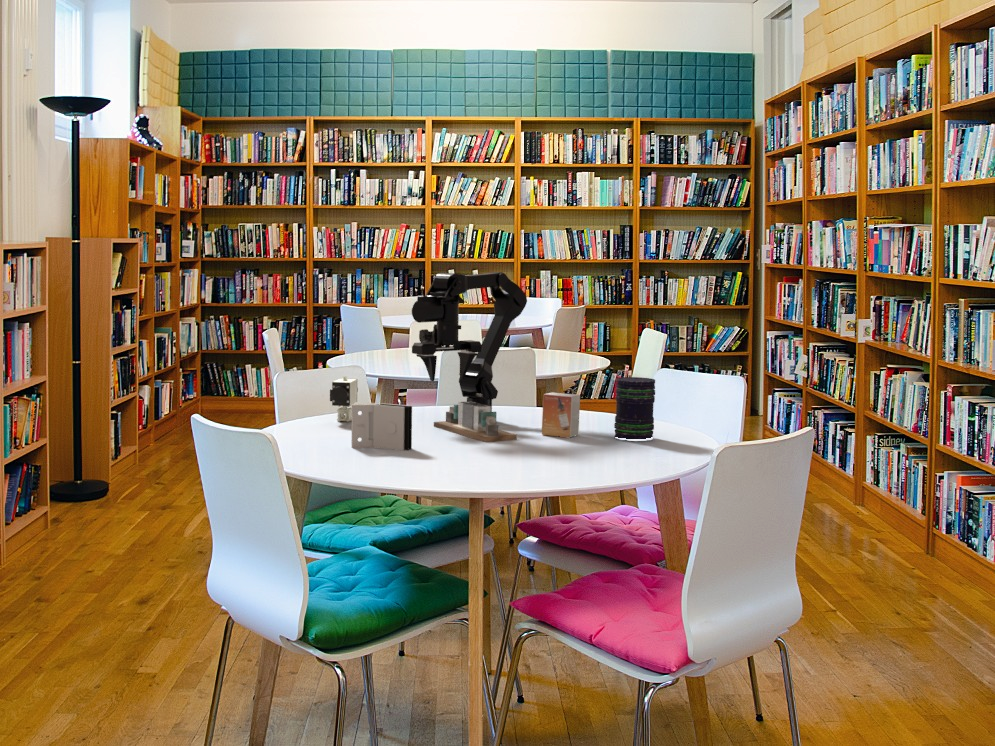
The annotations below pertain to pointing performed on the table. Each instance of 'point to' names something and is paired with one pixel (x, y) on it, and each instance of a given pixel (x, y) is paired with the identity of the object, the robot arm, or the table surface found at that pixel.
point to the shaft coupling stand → (487, 435)
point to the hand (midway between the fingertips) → (447, 380)
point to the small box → (560, 414)
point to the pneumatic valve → (344, 397)
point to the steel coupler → (471, 415)
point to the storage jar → (634, 407)
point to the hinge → (382, 426)
